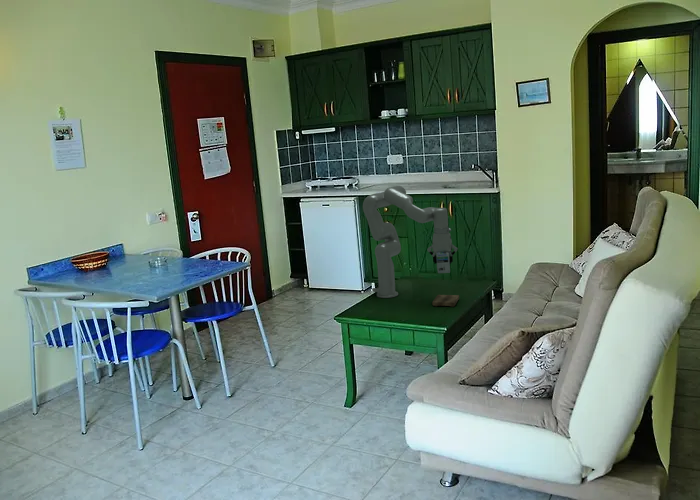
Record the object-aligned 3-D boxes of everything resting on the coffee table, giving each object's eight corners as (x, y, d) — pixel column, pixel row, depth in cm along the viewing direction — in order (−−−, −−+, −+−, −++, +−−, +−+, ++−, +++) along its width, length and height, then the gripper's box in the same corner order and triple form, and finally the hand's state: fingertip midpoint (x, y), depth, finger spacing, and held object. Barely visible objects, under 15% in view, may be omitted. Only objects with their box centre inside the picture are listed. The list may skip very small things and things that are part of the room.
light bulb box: (450, 272, 324) (449, 253, 322) (437, 273, 325) (436, 253, 323) (449, 268, 334) (448, 249, 333) (436, 269, 335) (435, 250, 333)
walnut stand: (432, 306, 328) (432, 302, 327) (437, 299, 342) (437, 294, 341) (454, 307, 324) (454, 302, 323) (459, 299, 338) (459, 295, 337)
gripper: (458, 229, 326) (460, 261, 329) (426, 230, 332) (428, 262, 335) (456, 231, 319) (458, 264, 323) (423, 232, 325) (425, 264, 328)
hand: (443, 263), depth 329 cm, fingers closed on light bulb box, 7 cm apart
